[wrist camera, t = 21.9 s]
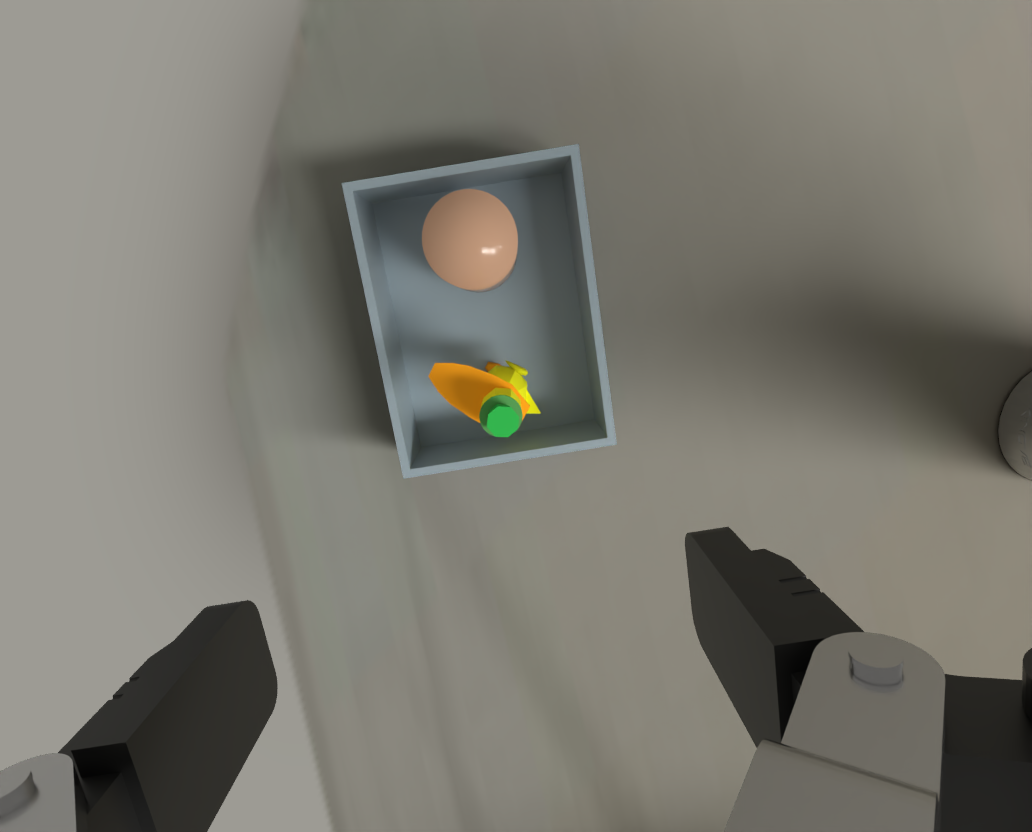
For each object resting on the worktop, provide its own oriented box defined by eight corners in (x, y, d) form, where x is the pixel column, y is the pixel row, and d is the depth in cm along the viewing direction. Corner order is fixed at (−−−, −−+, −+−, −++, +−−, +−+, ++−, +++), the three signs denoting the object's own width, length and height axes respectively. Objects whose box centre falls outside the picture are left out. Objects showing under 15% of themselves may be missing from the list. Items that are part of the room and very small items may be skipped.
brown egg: (492, 196, 37) (487, 170, 30) (531, 267, 38) (535, 257, 31) (424, 237, 38) (403, 220, 31) (464, 306, 39) (453, 305, 32)
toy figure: (436, 376, 40) (405, 411, 28) (461, 328, 39) (438, 344, 27) (526, 422, 40) (531, 476, 29) (551, 376, 40) (567, 412, 28)
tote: (567, 164, 38) (578, 143, 32) (601, 423, 41) (616, 444, 36) (364, 197, 38) (341, 183, 32) (416, 453, 41) (403, 478, 36)
